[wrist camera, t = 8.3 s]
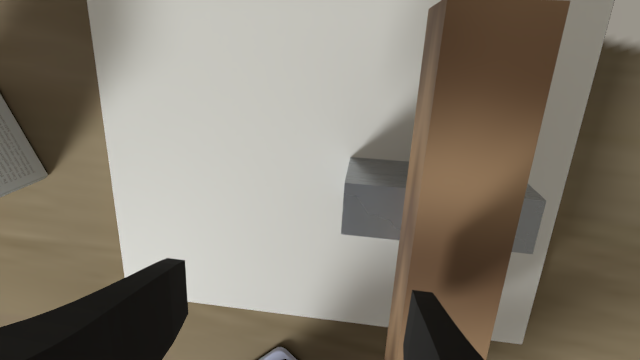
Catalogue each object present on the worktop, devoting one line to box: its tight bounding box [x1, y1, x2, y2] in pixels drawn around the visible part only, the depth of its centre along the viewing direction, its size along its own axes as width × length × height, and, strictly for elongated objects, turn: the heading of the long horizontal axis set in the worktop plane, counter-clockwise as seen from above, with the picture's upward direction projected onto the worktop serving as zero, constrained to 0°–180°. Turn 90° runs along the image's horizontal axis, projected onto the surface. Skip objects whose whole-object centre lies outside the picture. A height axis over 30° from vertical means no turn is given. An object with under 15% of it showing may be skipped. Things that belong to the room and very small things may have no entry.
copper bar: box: [384, 0, 570, 360], centre depth 15 cm, size 16×3×4 cm, turn 178°
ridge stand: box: [87, 0, 615, 344], centre depth 19 cm, size 24×18×5 cm
